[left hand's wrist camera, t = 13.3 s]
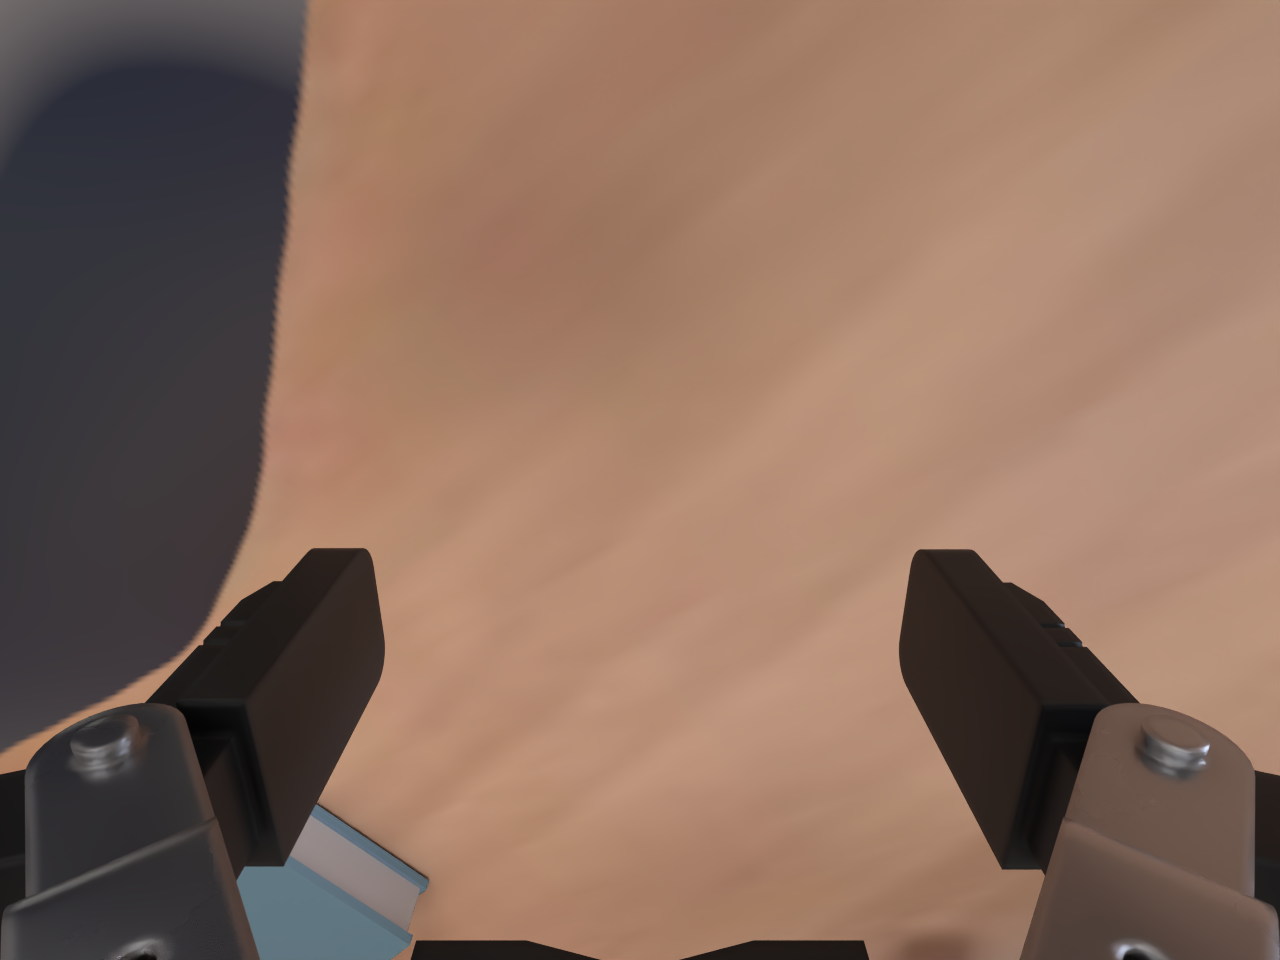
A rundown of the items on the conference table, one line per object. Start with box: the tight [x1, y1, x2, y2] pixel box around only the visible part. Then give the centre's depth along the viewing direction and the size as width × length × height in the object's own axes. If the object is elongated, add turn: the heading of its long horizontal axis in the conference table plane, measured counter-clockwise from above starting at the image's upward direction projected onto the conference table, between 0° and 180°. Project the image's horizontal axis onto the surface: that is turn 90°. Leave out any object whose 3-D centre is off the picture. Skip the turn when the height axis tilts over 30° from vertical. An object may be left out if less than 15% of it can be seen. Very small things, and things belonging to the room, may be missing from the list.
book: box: [236, 804, 429, 960], centre depth 54 cm, size 23×16×5 cm
